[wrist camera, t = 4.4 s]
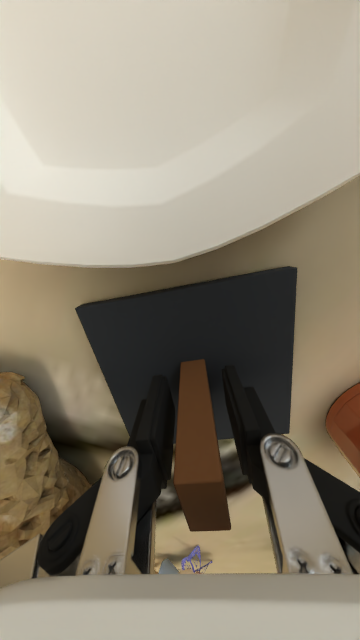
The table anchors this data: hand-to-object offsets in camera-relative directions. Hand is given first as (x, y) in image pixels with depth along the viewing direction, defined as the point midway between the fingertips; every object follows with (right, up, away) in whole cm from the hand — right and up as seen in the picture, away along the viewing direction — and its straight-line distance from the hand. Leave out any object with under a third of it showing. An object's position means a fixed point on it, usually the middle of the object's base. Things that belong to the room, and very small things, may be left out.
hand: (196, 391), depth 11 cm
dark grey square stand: (0, +1, +2) cm, 2 cm away
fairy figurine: (-2, -28, +14) cm, 31 cm away
